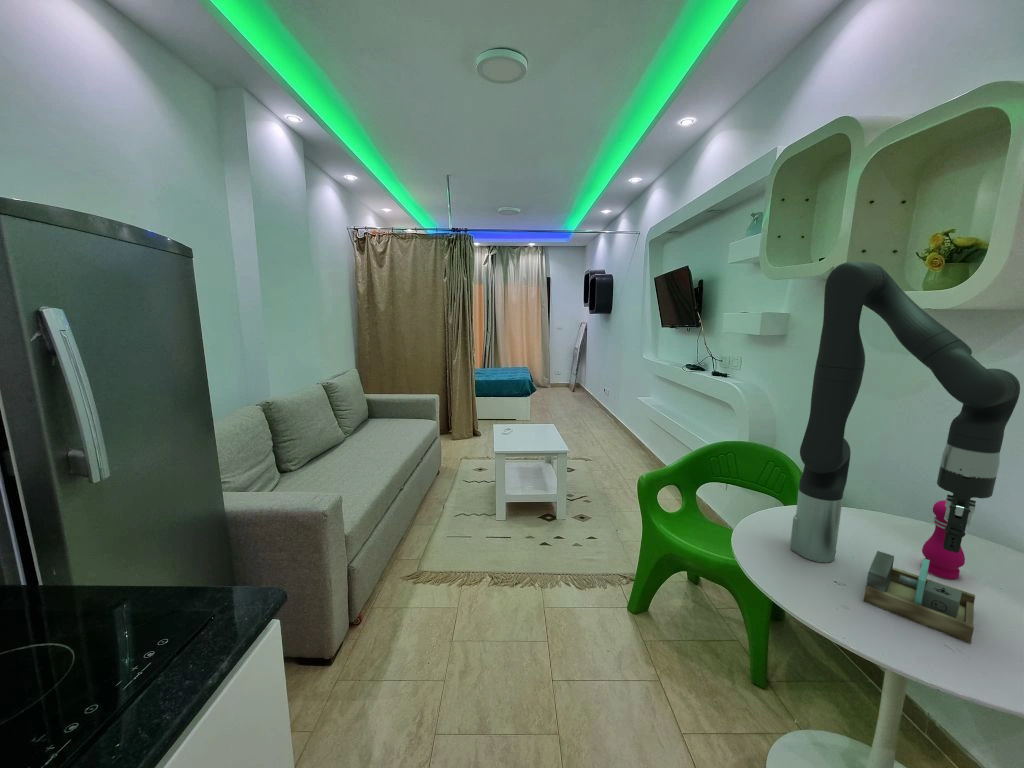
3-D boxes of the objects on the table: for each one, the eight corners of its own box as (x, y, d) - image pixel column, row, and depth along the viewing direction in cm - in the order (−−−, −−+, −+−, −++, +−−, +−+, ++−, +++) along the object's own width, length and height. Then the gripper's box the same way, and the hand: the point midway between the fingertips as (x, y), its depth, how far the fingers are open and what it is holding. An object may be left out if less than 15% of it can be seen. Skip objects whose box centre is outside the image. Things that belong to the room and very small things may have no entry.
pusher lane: (863, 601, 91) (867, 573, 89) (874, 574, 99) (878, 549, 98) (970, 644, 79) (977, 612, 77) (972, 609, 87) (978, 580, 86)
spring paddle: (893, 605, 88) (898, 572, 86) (900, 583, 95) (905, 552, 93) (919, 615, 85) (925, 581, 83) (924, 592, 92) (929, 560, 90)
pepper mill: (970, 582, 96) (986, 504, 92) (934, 579, 97) (948, 502, 94) (945, 563, 103) (958, 490, 99) (911, 561, 104) (923, 488, 101)
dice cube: (920, 610, 87) (924, 589, 86) (924, 599, 90) (928, 579, 89) (954, 623, 83) (958, 602, 82) (957, 612, 86) (962, 591, 85)
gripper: (943, 454, 88) (929, 522, 91) (937, 472, 78) (922, 547, 82) (996, 464, 82) (980, 536, 85) (997, 485, 73) (978, 565, 76)
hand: (951, 542), depth 83 cm, fingers open, 8 cm apart
